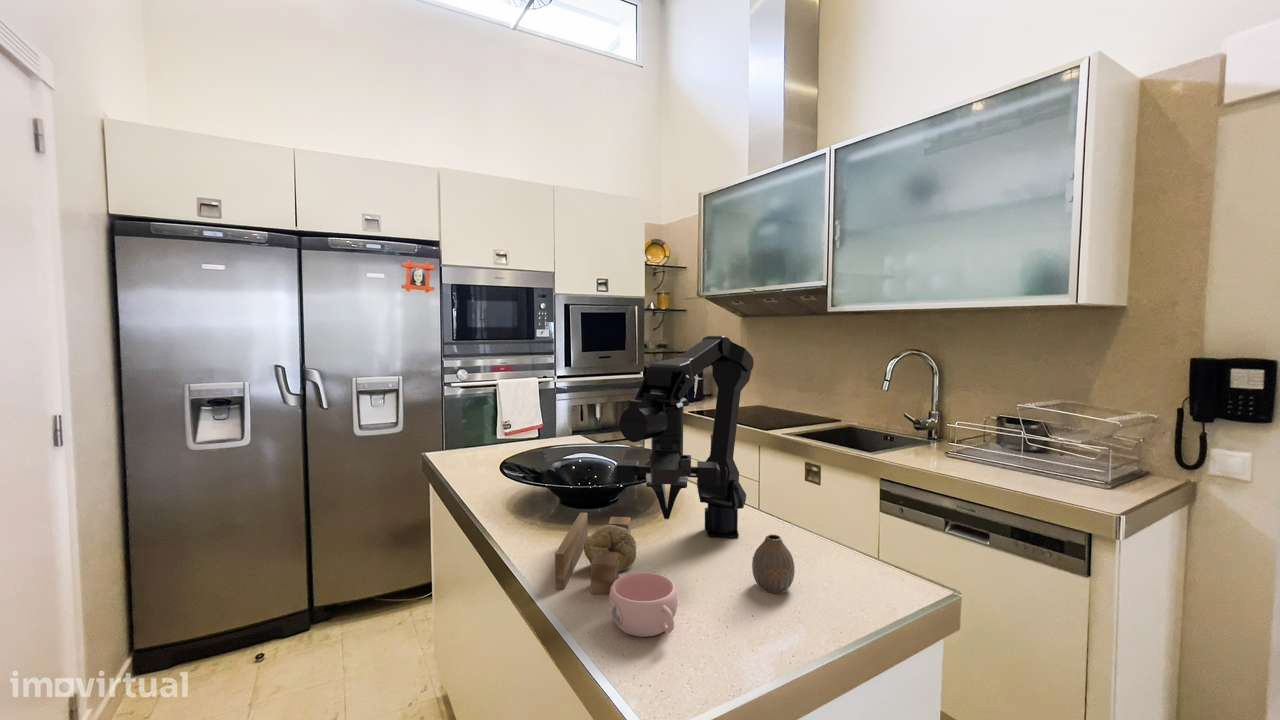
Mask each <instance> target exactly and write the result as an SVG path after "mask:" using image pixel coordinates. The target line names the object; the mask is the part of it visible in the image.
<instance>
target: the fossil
mask: <svg viewBox="0 0 1280 720" xmlns="http://www.w3.org/2000/svg"><path fill="white" fill-rule="evenodd" d="M636 543H637V542H636V540H635V538H634V536H633V535H632V534H630V532H629V531H628V530H627V529H626V528H622V527H618V526H615V525H608V524H607V525H603V526H601V527H599V528H597V530H596V531H594V532H593V533H592V534H591V535H589V536H588V537H587V539H586V540H585V543H584V550H583V552H584V554H585V556H586V558H587V560H588V561H589V563H590V564H591V563H592V560H593V558H594V556H595V554H615V555H619V572H621V571H626V570H627V569H629V568H630V567H632V566H633V564H634V563H635V561H636V558H637V545H636Z"/></svg>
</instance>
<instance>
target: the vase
mask: <svg viewBox="0 0 1280 720" xmlns="http://www.w3.org/2000/svg"><path fill="white" fill-rule="evenodd" d="M751 570H752V575H753V579H754V581H755V583H756V584H757V586H758V587H759V588H760V589H761V590H762V591H763V592H765V593H769V594H772V595H775V594H776V595H778V594H783V593H785V592H786V591H787V590H788V589H789V588H790V587H792V586H791V585H792V583H793V581H794V578H795V572H796V570H795V561H794V557H793V555H792V553H791V551H790V550H789V549H788V548H787V546H786V545H785V543H784V541H783V540H782V537H781V536H780V535H779V534H767V535H766V536H765V538H764V540H763V542H762V543H760V545H759V546H758V547H757V548H756V550H755V551H754V555H753V557H752V563H751Z"/></svg>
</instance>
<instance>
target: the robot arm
mask: <svg viewBox="0 0 1280 720" xmlns="http://www.w3.org/2000/svg"><path fill="white" fill-rule="evenodd" d="M754 363H755V362H754V357H753V356H752V354H751V353H750V352H749V351H748V350H747V348H745V347H743V346H741V345H739V344H737V343H735V342H734V341H732V340H730V338H729V337H726V336H725V335H707V336H704V337H702V340H701V341H700V342H698V343H696V344H695V345H693V346H692V347H690V348H689V349H688V350H686V351H684V352H683V353H682V354H680V355H678V356H677V357H674V358H669V359H664V360H659V361H656V362H653V363H651V364H650V365H649V366H648V368H647V369H646V373H645V374H644V377H643V379H642V381H641V384H640V387H639V389H638V391H637V394H636V396H635V398H634V399H632V400H631V399H630V400H629V401H628V403H629V405H628V408H626V409H625V410H624V411H623V412H622V414H621V416H620V419H619V421H618V422H619V423H618V424H619V430H620V432H621V434H622V436H623V437H624V439H625V440H627V441H629V442H631V443H639V442H642V441H646V440H651V443H650V444H651V449H650V450H651V453H650V456H649V465H643V464H640V463H639V459H622V458H620V459H619V460H617V462H616V464H615V466H614V469H613V482H616V483H617V482H618V483H632V482H633V481H634V480H635V479H636V477H645V479H646V482H645V487H647V488H651V489H652V491H653V492H654V493H655V495H656V499H657V500H658V503H659V506H660V510H661V513H662V516H663V519H664V520H670V517H671V514H672V511H673V508H674V504H675V502H676V499H677V498H678V495H679V493H680V491H681V489H687V487H688V480H689V478H697V479H696V488H697V493H698V498H699V502H700V503H704V504H707V507H705V508H704V531H706V534H707V537H717V538H718V537H719V538H739V536H740V535H739V530H738V526H739V525H738V523H739V522H738V521H739V520H738V519H739V516H738V515H739V511H738V510H740V509H742V510H743V509H744V507H745V505H746V501H747V493H746V492H745V490H744V489H743V487H742V485H741V483H740V471H739V469H738V467H737V464H736V463H735V461H734V452H735V446H736V445H735V444H736V434H737V427H738V418H739V408H740V401H741V392H742V390H743V389H744V388H745V386H746V385H747V384H748V383H749V381H750V379H751V375H752V370H753V368H754ZM709 366H710V368H712V371H711V372H712V373H711V375H712V378H713V380H714V383H715V384H716V387H717V393H716V402H715V412H714V420H713V426H712V434H711V435H712V436H711V445H710V452H709V456H708V457H707V458H706V459H705V461H701V460H699V461H697V462H696V463H697V464H696V466H692V455H691V454H684V408H685V407H689V405H690V402H689V401H688V399H686V398H685V397H684V396H685V395H686V394H687V392H689V390H690V389H691V388H692V387H693V386H694V378H695V377H696V376H697V375H698V374H700V373H701V372H703V371H704V370H705V369H707V368H708V367H709ZM666 485H670V486H669V491H668V492H669V493H668V501H667V495H666V494H667V493H666V488H665V487H666Z"/></svg>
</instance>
